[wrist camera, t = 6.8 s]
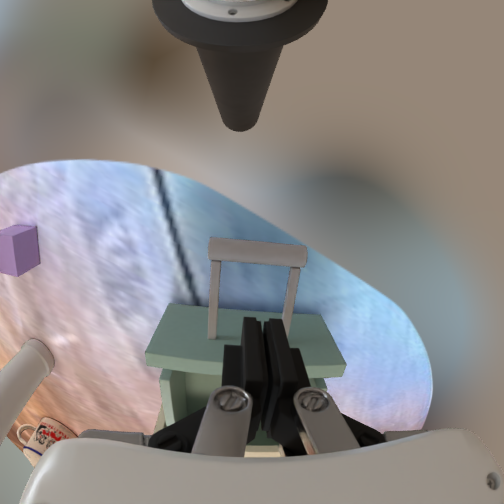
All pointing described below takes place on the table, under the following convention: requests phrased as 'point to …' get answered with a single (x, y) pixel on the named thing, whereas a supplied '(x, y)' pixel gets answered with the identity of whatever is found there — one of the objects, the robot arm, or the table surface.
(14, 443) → the table surface
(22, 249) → the purple cube
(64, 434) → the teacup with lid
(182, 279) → the table surface
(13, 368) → the bottle
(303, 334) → the drawer
